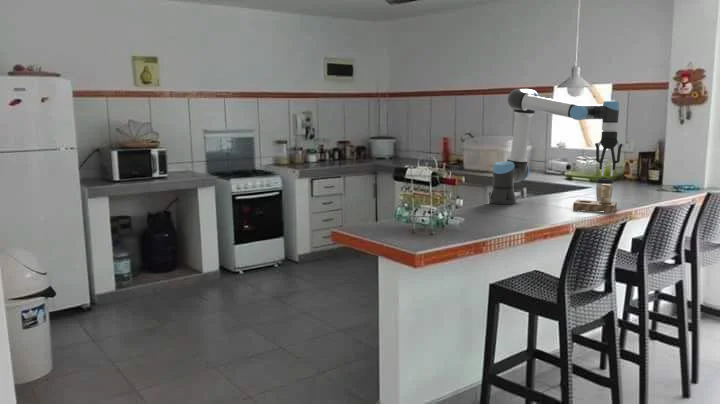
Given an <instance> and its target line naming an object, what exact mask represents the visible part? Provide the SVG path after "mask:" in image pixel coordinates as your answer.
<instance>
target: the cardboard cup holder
mask: <svg viewBox="0 0 720 404" xmlns="http://www.w3.org/2000/svg"><path fill="white" fill-rule="evenodd" d="M600 203H601V201H597V200H591V199H588V200H587V199H576V200H574V202H573V203H572V204H573V205H572V211H576V210H585V211H584V212H590V211H604V212H614V211H615V210H616V211H617V203H618V202H617V201H611V202H610V204H600ZM616 211H615V212H616ZM615 212H614V213H615Z"/></svg>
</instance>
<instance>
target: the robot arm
mask: <svg viewBox="0 0 720 404" xmlns="http://www.w3.org/2000/svg"><path fill="white" fill-rule="evenodd" d="M506 99H507V104H508V106H509V107H510V108H511V109H513V113H514V114H515V118H514V119H515V120H514V127H513V135H512V141H511V142H512V143H511V148H510V149H511V150H510V155H509V156H508V157H507V159H506V160H504V161H497V162H495V163H494V164H493V167H492V188H491V192H490V195H489V199H488V201H489V203H490V204H494V205H505V206H506V205H507V206H508V205H516V204H517V197H516V194H515V191H514V183H520V182H523V181H525V180H526V179H527V178H528V177H529V175H530V167H529V165H528V159H527V157H526V156H527V155H526V154H527V149H528V143H529V135H530V128H531V120H532V117H533V116H534V115H535V112H539V113H540V112H541V113H545V114H551V115H554V116H560V117H565V118H570V119H573V120H576V121H582V120H585V121H586V120H601V121H602V122H601V130H602V131H601V139H600V141H598V142H595V144H594V146H595V148H596V149H595V161H596V163H599V170H601V177H603V176H604V173H605V171H604V170H605V163H604V158H605V155H606V151H607V150H608V149H609V150H610V154H611V158H612V159H611V160H612V163H610V174H609V175H610V177H613V175H614V171H615V170H616V164H618V163H620V161H621V152H622V148H623V145H624V143H622V142H619V141H618V129H619V116H620V115H619V114H620V113H619V112H620V103H619V101H618V100H604V101H603V103H602V104H578V103H572V102H569V101H562V100H557V99H553V98H547V97H546V98H545V97H543V96H542V97H541V96H540V95H539V93H538V92H537V91H536V90H534V89H530V88H516V89H513V90H512V91H510V93H509V94H508V96H507V98H506ZM601 146H602V152H601V157H600V147H601ZM616 146H617V147H618V148H617V155H616V154H615V153H616V152H615V147H616Z"/></svg>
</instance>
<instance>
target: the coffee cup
mask: <svg viewBox="0 0 720 404" xmlns="http://www.w3.org/2000/svg"><path fill="white" fill-rule="evenodd" d="M614 182H615V181H614V180H612V178H608V177H600V178H597V180H596V182H595V183H596V187H595V188H596V190H595V191H596V193H595V195H596V196H595V197H596V201H601V188H602V184H611V190H610V202H612V197H613V190H614Z"/></svg>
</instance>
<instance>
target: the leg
mask: <svg viewBox="0 0 720 404" xmlns="http://www.w3.org/2000/svg"><path fill="white" fill-rule="evenodd" d="M610 190H611V184H602V188H601V203H600V204H610Z"/></svg>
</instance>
